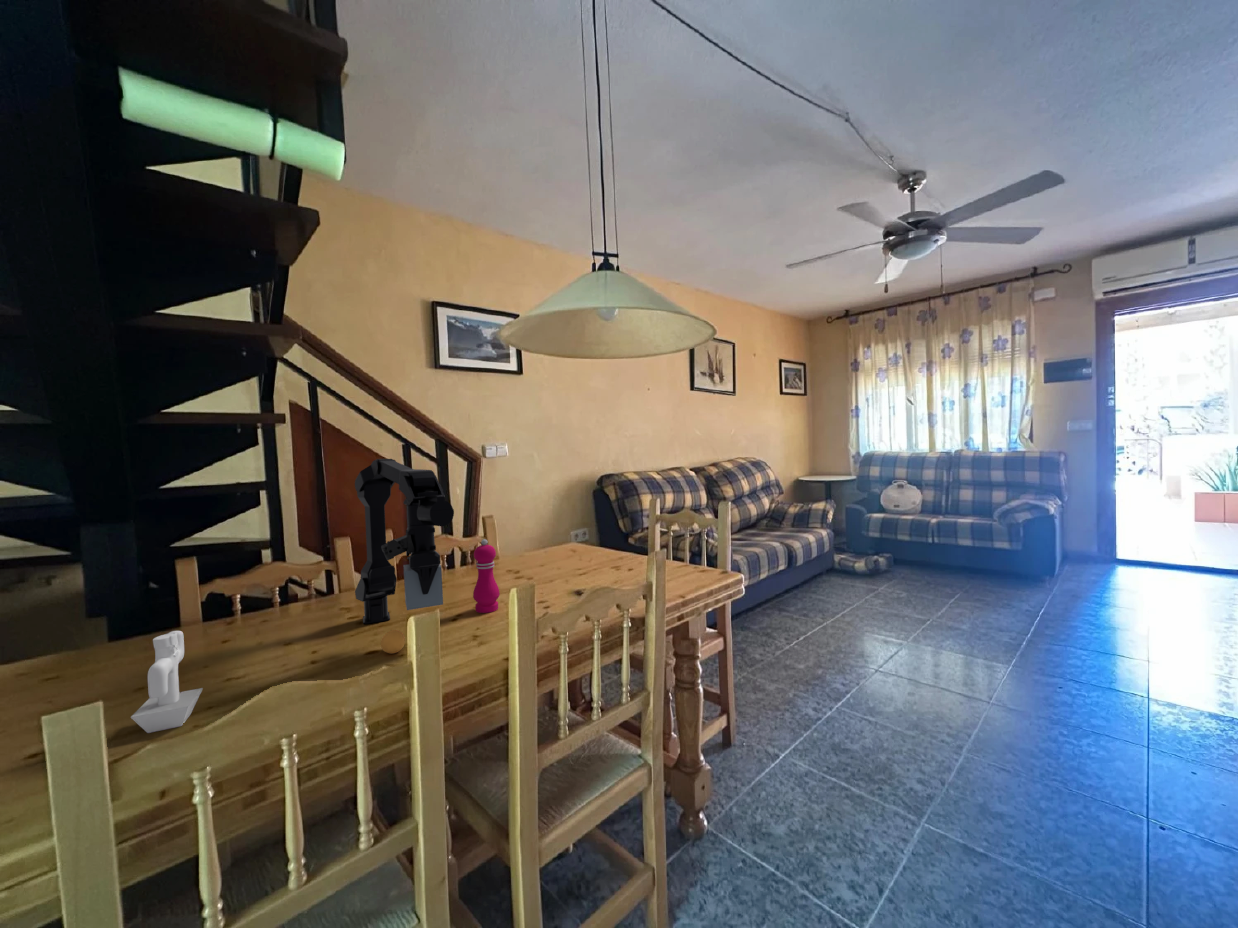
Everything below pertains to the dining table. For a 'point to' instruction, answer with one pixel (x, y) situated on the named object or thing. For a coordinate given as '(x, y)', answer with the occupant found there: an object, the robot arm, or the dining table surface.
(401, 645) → the ball
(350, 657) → the dining table surface
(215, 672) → the dining table surface
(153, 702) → the figurine
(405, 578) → the slate grey cube
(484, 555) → the pepper mill
